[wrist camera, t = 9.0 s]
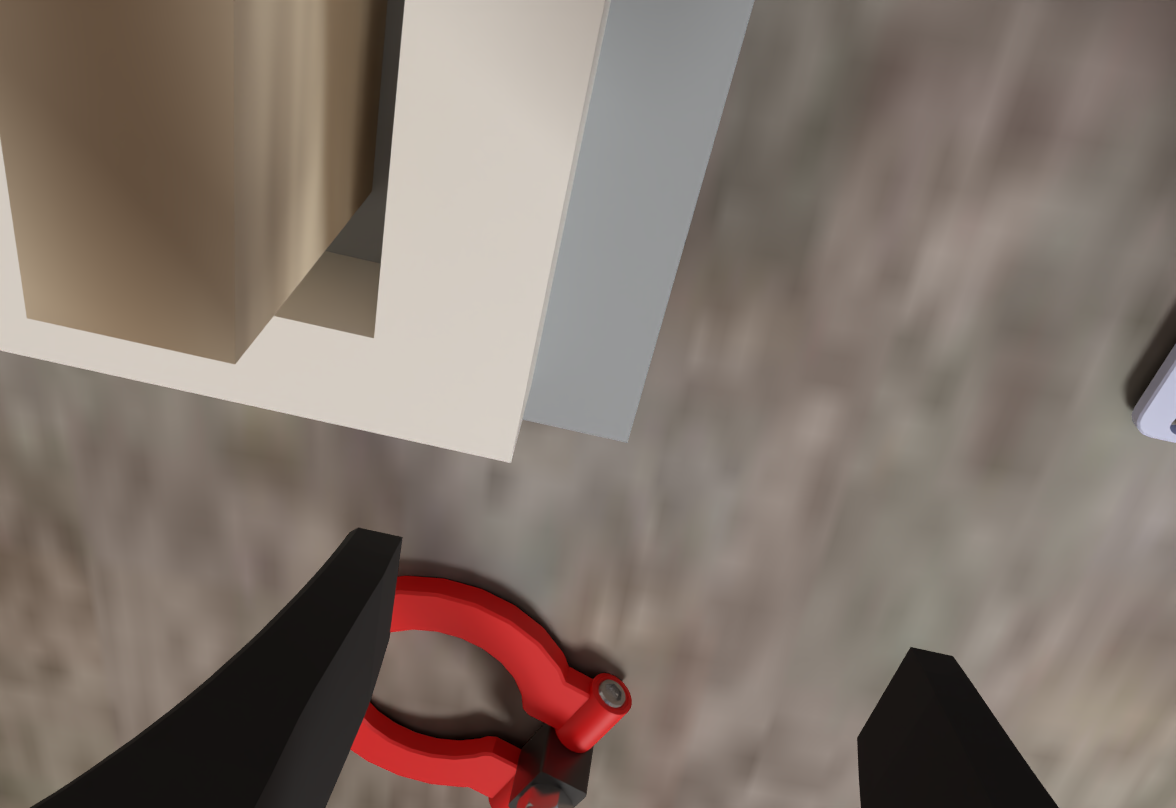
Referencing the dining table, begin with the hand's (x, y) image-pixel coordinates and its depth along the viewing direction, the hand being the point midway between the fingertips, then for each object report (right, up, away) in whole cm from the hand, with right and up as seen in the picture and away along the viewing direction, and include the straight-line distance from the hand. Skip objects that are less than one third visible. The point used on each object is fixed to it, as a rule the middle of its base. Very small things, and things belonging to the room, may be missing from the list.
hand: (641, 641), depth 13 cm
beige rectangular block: (-6, +10, +5) cm, 13 cm away
